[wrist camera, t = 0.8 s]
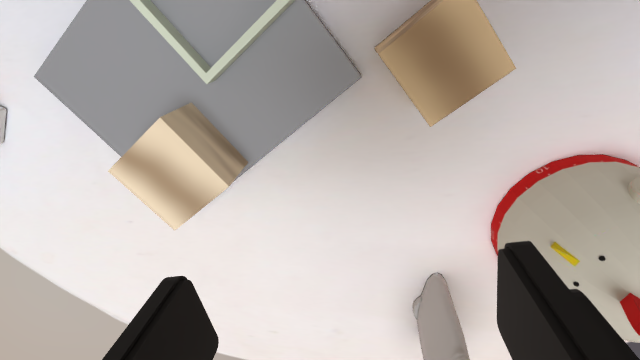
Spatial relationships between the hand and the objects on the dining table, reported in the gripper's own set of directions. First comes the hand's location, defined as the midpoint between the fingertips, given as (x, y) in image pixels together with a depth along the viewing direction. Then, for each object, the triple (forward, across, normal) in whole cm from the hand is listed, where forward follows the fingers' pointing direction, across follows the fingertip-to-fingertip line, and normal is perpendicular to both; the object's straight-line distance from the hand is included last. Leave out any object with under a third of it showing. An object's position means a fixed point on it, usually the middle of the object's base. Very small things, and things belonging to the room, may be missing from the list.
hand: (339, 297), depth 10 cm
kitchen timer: (+21, -18, +14) cm, 31 cm away
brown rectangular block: (+19, +15, 0) cm, 24 cm away
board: (+21, +12, -6) cm, 25 cm away
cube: (+21, -7, -4) cm, 22 cm away
